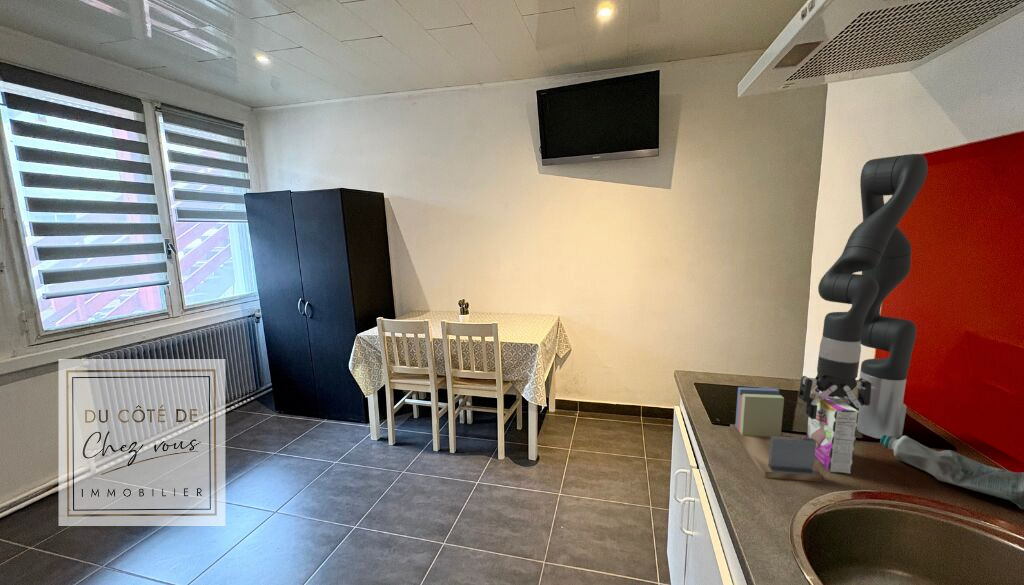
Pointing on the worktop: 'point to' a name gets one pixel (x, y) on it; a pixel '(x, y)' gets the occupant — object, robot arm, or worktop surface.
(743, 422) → the row of books
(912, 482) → the worktop surface
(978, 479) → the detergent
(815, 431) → the candy bar box
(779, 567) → the worktop surface
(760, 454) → the shelf board
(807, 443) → the bookend
